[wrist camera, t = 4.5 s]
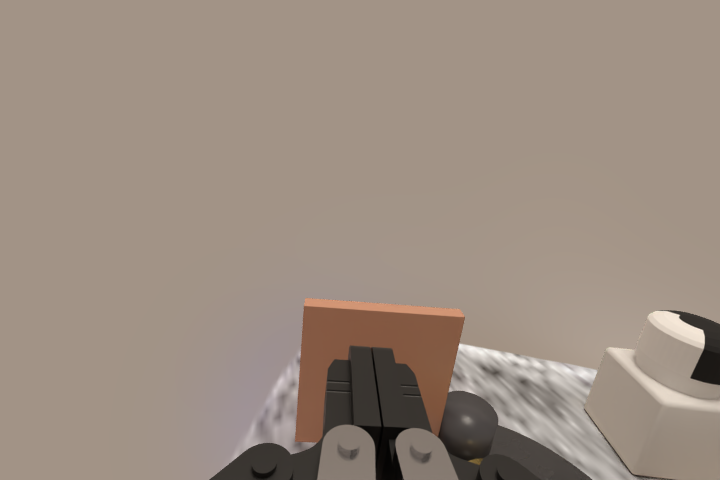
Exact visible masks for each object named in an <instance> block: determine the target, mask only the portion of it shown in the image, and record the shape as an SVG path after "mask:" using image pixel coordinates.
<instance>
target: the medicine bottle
mask: <svg viewBox="0 0 720 480" xmlns="http://www.w3.org/2000/svg"><path fill="white" fill-rule="evenodd" d="M584 408H585V410H586V412H587V413H588V414H589V416H590V417H591V418H592V420H593V421H594V422H595V424H596V425H597V426H598V428H599V429H600V431H601V432H602V433H603V435H604V436H605V437H606V439H607V440H608V441H609V443H610V444H611V446H612V447H613V448H614V450H615V451H616V452H617V454H618V455H619V456H620V458H621V459H622V461H623V462H624V463H625V465H626V466H627V467H628V469H629V470H630V471H631V473H632V474H634V475H641V476H650V477H658V478H667V479H675V480H720V324H718V323H716V322H714V321H711V320H709V319H706V318H703V317H700V316H697V315H694V314H690V313H686V312H680V311H669V310H660V311H655V312H653V313H650V314H649V315H648V317H647V320H646V322H645V325H644V327H643V330H642V332H641V335H640V337H639V340H638V342H637V345H636V347H635V350H630V349H622V348H613V347H608V348H607V349H606V350H605V353H604V356H603V358H602V361H601V364H600V367H599V369H598V372H597V374H596V377H595V380H594V382H593V385H592V388H591V390H590V393H589V396H588V398H587V401H586V404H585V406H584Z"/></svg>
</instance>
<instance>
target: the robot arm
mask: <svg viewBox="0 0 720 480" xmlns="http://www.w3.org/2000/svg"><path fill="white" fill-rule="evenodd" d="M210 480H541V479H540V478H538V477H537V476H536V475H534V474H533V473H532V472H530V471H529V470H528V469H526V468H525V467H524V466H522V465H521V464H520V463H518V462H517V461H515V460H513V459H512V458H509V457H507V456H504V455H499V454H492V455H488V456H486V457H485V458H483V459H482V461H481V463H480V465H478V464H475V463H472V462H469V461H466V460H463V459H460V458H458V457H455V456H453V455H452V454H450V453H448V452H447V450H446V448H445V446H444V444H443V443H442V441H441V440H440V439H439V438H438V437H437V436H435V435H434V434H433V433H432V430H431V426H430V423H429V420H428V416H427V413H426V409H425V406H424V403H423V399H422V397H421V393H420V389H419V388H418V383H417V379H416V376H415V374H414V372H413V371H412V370H411V369H410V368H409V367H408V365H407V364H401V363H396V362H395V358H394V354H393V350H392V348H381V347H371V348H370V347H366V346H351V345H350V347H349V353H348V360H338V359H334V361H333V362H332V363H331V365H330V366H329V368H328V372H327V381H326V391H325V400H324V415H323V432H322V438H321V439H320V441H319V442H318V443H317V444H316V445H315V446H313V447H312V448H310V449H308V450H306V451H303V452H299V453H296V454H292V455H291V454H290V453H289V452H288V451H287V450H286V449H285V448H284V447H282V446H280V445H277V444H273V443H263V444H258V445H256V446H253V447H251V448H249V449H248V450H246V451H245V452H244V453H242V454H241V455H240V456H239V457H237V458H236V459H235V460H234V461H232V462H231V463H230V464H229V465H227V466H226V467H225V468H224V469H222V470H221V471H220V472H219V473H217V474H216V475H215V476H214V477H212V478H211V479H210Z"/></svg>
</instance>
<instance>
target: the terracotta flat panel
mask: <svg viewBox="0 0 720 480" xmlns="http://www.w3.org/2000/svg"><path fill="white" fill-rule="evenodd" d="M464 319H465V317H464V315H463V313H462V312H461V310H460V309H449V308H435V307H421V306H407V305H393V304H379V303H366V302H352V301H338V300H325V299H311V298H306V299H305V304H304V314H303V331H302V344H301V359H300V375H299V390H298V405H297V421H296V436H295V442H319V441H320V439H321V438H322V432H323V415H324V400H325V391H326V381H327V372H328V368H329V366H330V365H331V363H332V362H333V361H334V359H338V360H348V353H349V347H350V345H351V346H366V347H370V348H371V347H381V348H392V350H393V354H394V358H395V362H396V363H401V364H407V365H408V367H409V368H410V369H411V370H412V371H413V372H414V374H415V376H416V379H417V383H418V388H419V389H420V393H421V397H422V399H423V403H424V406H425V409H426V413H427V416H428V420H429V423H430V426H431V430H432V433H433V434H434V435H435V436H437V437H438V438H439V439H440V440H441V441H442V443H443V444H444V446H445V448H446V450H447V452H448V453H450V454H452V455H453V456H455V457H458V458H460V459H463V460H466V461H470V460H473V459H479V458H485V457H486V456H488V455H489V453H490V450H491V446H492V443H493V439H494V436H495V432H496V429H497V425H498V416H497V414H496V412H495V410H494V409H493V407H492V406H491V405H490V404H489V403H488V402H486V401H485V400H484V399H482V398H481V397H479V396H477V395H475V394H472V393H469V392H465V391H452V392H449V393H448V391H449V386H450V382H451V377H452V373H453V368H454V364H455V360H456V355H457V351H458V346H459V342H460V337H461V333H462V328H463V324H464Z"/></svg>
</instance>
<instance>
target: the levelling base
mask: <svg viewBox="0 0 720 480" xmlns="http://www.w3.org/2000/svg"><path fill="white" fill-rule="evenodd" d="M492 454H499V455H504V456H507V457H509V458H512V459H513V460H515V461H517V462H518V463H520V464H521V465H522V466H524V467H525V468H526V469H528V470H529V471H530V472H532V473H533V474H534V475H536V476H537V477H538V478H540V479H541V480H592V479H591V478H590V477H589V476H587V475H586V474H585V473H583V472H582V471H581V470H579V469H578V468H577V467H575V466H574V465H573V464H571V463H570V462H568V461H567V460H565V459H564V458H562V457H561V456H559V455H558V454H556V453H555V452H553V451H552V450H550V449H548V448H546V447H545V446H543V445H541V444H539V443H538V442H536V441H534V440H532V439H530V438H528V437H526V436H524V435H521V434H519V433H517V432H515V431H513V430H510V429H507V428H505V427H502V426H499V425H497V429H496V432H495V436H494V439H493V443H492V446H491V450H490V453H489V455H492ZM482 459H483V458H479V459H473V460H470V461H469V462H472V463H475V464H478V465H480V463H481V461H482Z"/></svg>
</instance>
